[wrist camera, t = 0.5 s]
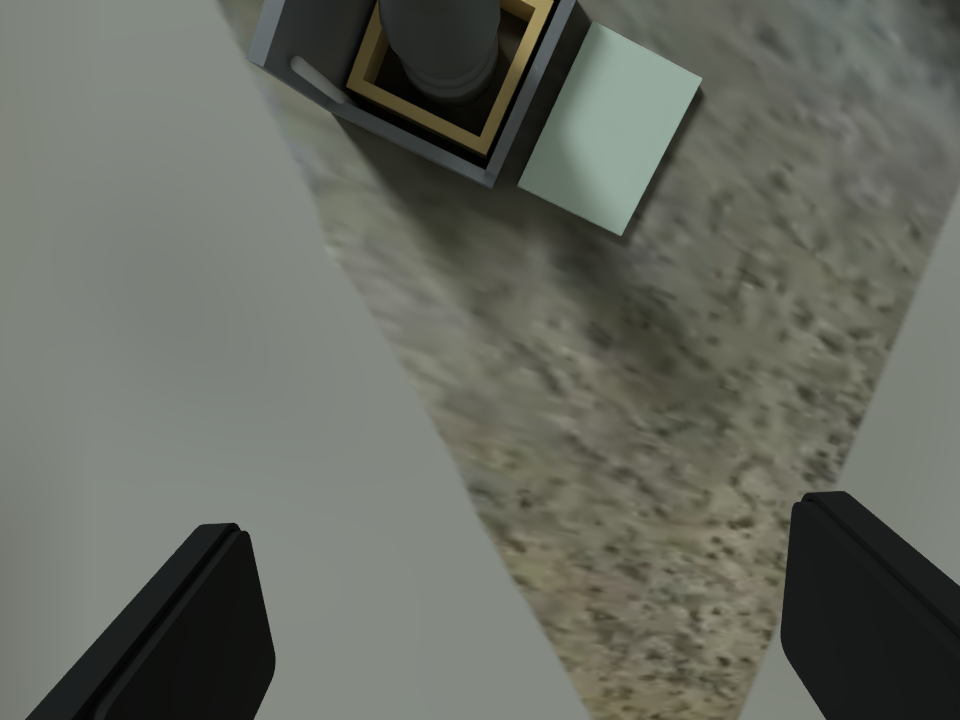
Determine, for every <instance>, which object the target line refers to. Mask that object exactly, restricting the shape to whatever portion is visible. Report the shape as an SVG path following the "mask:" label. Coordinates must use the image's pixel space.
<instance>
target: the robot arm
mask: <svg viewBox="0 0 960 720" xmlns="http://www.w3.org/2000/svg"><path fill="white" fill-rule="evenodd" d="M781 643H782V647H783V650H784V653H785V655H786V657H787V659H788V660H789V662H790V664H791V665H792V667H793V668H794V670H795V671H796V673H797V675H798V676H799V678H800V679H801V681H802V682H803V684H804V685H805V687H806V689H807V690H808V692H809V693H810V695H811V696H812V698H813V699H814V701H815V703H816V704H817V706H818V707H819V709H820V711H821V712H822V714H823V715H824V717H825V718H826V720H960V586H959V585H958V584H956V583H955V582H954V581H953V580H952V579H950V578H949V577H948V576H947V575H946V574H944V573H943V572H942V571H941V570H940V569H938V568H937V567H936V566H935V565H934V564H932V563H931V562H930V561H929V560H928V559H926V558H925V557H924V556H923V555H922V554H920V553H919V552H918V551H917V550H915V549H914V548H913V547H912V546H911V545H910V544H908V543H907V542H906V541H905V540H903V539H902V538H901V537H900V536H899V535H897V534H896V533H895V532H894V531H893V530H892V529H890V528H889V527H888V526H887V525H886V524H884V523H883V522H882V521H881V520H880V519H878V518H877V517H876V516H875V515H874V514H872V513H871V512H870V511H869V510H868V509H866V508H865V507H864V506H863V505H862V504H860V503H859V502H858V501H857V500H856V499H854V498H853V497H852V496H851V495H850V494H848V493H846V492H845V491H833V492H813V493H806V494H805V495H804V496H803V498H802V500H801V502H796V503H795V504H794V505H793V508H792V513H791V524H790V535H789V546H788V557H787V567H786V578H785V589H784V600H783V611H782V621H781ZM274 670H275V651H274V646H273V642H272V637H271V633H270V628H269V623H268V618H267V614H266V609H265V604H264V600H263V595H262V590H261V585H260V581H259V576H258V571H257V566H256V562H255V557H254V552H253V548H252V543H251V539H250V535H249V534H248V532H246V531H241V530H240V528H239V526H238V525H237V524H235V523H220V524H203V525H200V526H199V527H197V528H196V529H195V530H194V531H193V532H192V534H191V535H190V536H189V537H188V538H187V539H186V540H185V541H184V543H183V544H182V545H181V546H180V547H179V548H178V549H177V550H176V552H175V553H174V554H173V555H172V556H171V557H170V558H169V559H168V561H167V562H166V563H165V564H164V565H163V566H162V567H161V568H160V569H159V571H158V572H157V573H156V574H155V575H154V576H153V577H152V578H151V579H150V581H149V582H148V583H147V584H146V585H145V586H144V587H143V588H142V590H141V591H140V592H139V593H138V594H137V595H136V596H135V597H134V599H133V600H132V601H131V602H130V603H129V604H128V605H127V606H126V607H125V609H124V610H123V611H122V612H121V613H120V614H119V615H118V616H117V618H116V619H115V620H114V621H113V622H112V623H111V624H110V625H109V626H108V628H107V629H106V630H105V631H104V632H103V633H102V634H101V635H100V637H99V638H98V639H97V640H96V641H95V642H94V643H93V644H92V646H91V647H90V648H89V649H88V650H87V651H86V652H85V653H84V654H83V656H82V657H81V658H80V659H79V660H78V661H77V662H76V663H75V665H74V666H73V667H72V668H71V669H70V670H69V671H68V672H67V673H66V675H65V676H64V677H63V678H62V679H61V680H60V681H59V683H57V685H56V686H55V687H54V688H53V689H52V690H51V691H50V692H49V693H48V695H47V696H46V697H45V698H44V699H43V700H42V701H41V702H40V704H39V705H38V706H37V707H36V708H35V709H34V710H33V711H32V712H31V714H30V715H29V716H28V717H27V718H26V719H25V720H254V718H255V715H256V713H257V711H258V709H259V707H260V704H261V702H262V700H263V698H264V696H265V693H266V691H267V689H268V687H269V685H270V683H271V680H272V678H273V675H274Z"/></svg>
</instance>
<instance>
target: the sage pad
mask: <svg viewBox="0 0 960 720" xmlns="http://www.w3.org/2000/svg"><path fill="white" fill-rule="evenodd" d="M701 81H702V78H700V77H699V76H697V75H695V74H693V73H691V72H689V71H687V70H685V69H683V68H681V67H680V66H678V65H676V64H674V63H672V62H670V61H668V60H666V59H664V58H663V57H661V56H659V55H657V54H655V53H653V52H651V51H649V50H647V49H646V48H644V47H642V46H640V45H638V44H636V43H634V42H632V41H630V40H628V39H627V38H625V37H623V36H621V35H619V34H617V33H615V32H613V31H611V30H610V29H608V28H606V27H604V26H602V25H600V24H598V23H596V22H594V21H593V22H592V24H591V25H590V27H589V30H588V32H587V34H586V36H585V38H584V41H583V43H582V45H581V47H580V49H579V51H578V54H577V56H576V58H575V60H574V62H573V65H572V67H571V69H570V71H569V73H568V75H567V78H566V80H565V82H564V84H563V86H562V89H561V91H560V93H559V95H558V97H557V99H556V102H555V104H554V106H553V108H552V110H551V112H550V115H549V117H548V119H547V121H546V123H545V126H544V128H543V130H542V132H541V134H540V136H539V139H538V141H537V143H536V145H535V147H534V150H533V152H532V154H531V156H530V158H529V160H528V163H527V165H526V167H525V169H524V171H523V174H522V176H521V178H520V180H519V182H518V184H517V187H519V188H522V189H524V190H526V191H528V192H530V193H532V194H534V195H536V196H538V197H540V198H542V199H544V200H546V201H548V202H550V203H552V204H554V205H556V206H558V207H561V208H563V209H565V210H567V211H569V212H571V213H573V214H575V215H577V216H579V217H581V218H583V219H585V220H587V221H589V222H591V223H593V224H595V225H597V226H600V227H602V228H604V229H606V230H608V231H610V232H612V233H614V234H616V235H618V236H621V235H622V234H623V232H624V230H625V228H626V226H627V224H628V222H629V220H630V218H631V216H632V214H633V212H634V210H635V208H636V206H637V204H638V203H639V201H640V199H641V197H642V195H643V193H644V191H645V189H646V187H647V185H648V183H649V181H650V179H651V177H652V175H653V174H654V172H655V170H656V168H657V166H658V164H659V162H660V160H661V158H662V156H663V154H664V152H665V150H666V148H667V146H668V145H669V143H670V141H671V139H672V137H673V135H674V133H675V131H676V129H677V127H678V125H679V123H680V121H681V119H682V117H683V115H684V114H685V112H686V110H687V108H688V106H689V104H690V102H691V100H692V98H693V96H694V94H695V92H696V90H697V88H698V86H699V85H700V83H701Z"/></svg>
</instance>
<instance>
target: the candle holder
mask: <svg viewBox="0 0 960 720" xmlns="http://www.w3.org/2000/svg"><path fill="white" fill-rule="evenodd" d="M378 5H379V18H380V24H381V26H382V28H383V30H384V33H385V35H386V37H387V39H388V41H389V44H390V46H391V48H392V49H393V51H394V52H395V53H396V54H397V55H398V57H399V59H400V61H401V64H402V66H403V68H404V70H405V72H406V75H407V77H408V78H409V80H410V82H411V84H412V85H413V87H414V88H415V89H416V90H417V91H418V92H419V93H420V94H421V95H422V96H423V97H424V98H425V99H426V100H427V101H429V102H432V103H434V104H437V105H439V106H442V107H463V106H464V105H466V104H468V103H470V102H472V101H474V100H476V99H478V98H479V97H480V96H481V95H482V94H483V92H484V91H485V90H486V89H487V88H488V87H489V85H490V84H491V81H492V79H493V76H494V73H495V70H496V67H497V59H498V32H497V28H498V25H499V22H500V0H378Z"/></svg>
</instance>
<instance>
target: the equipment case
mask: <svg viewBox="0 0 960 720" xmlns="http://www.w3.org/2000/svg"><path fill="white" fill-rule="evenodd" d="M575 2H576V0H500V8H502V9H504V10H506V11H508V12H510V13H511V14H513V15H515V16H517V17H519V18H521V19H523V20H525V21H527V22H529V25H528V27H527V30H526V32H525V34H524V37H523V39H522V41H521V44H520V46H519V48H518V50H517V53H516V55H515V57H514V60H513V62H512V64H511V67H510V69H509V71H508V74H507V76H506V78H505V80H504V83H503V85H502V87H501V90H500V92H499V94H498V97H497V99H496V101H495V104H494V106H493V108H492V111H491V113H490V115H489V117H488V120H487V122H486V124H485V127H484V129H483V131H482V134H481V136H480V137H478V136H476V135H474V134H472V133H470V132H468V131H466V130H464V129H462V128H460V127H458V126H456V125H454V124H452V123H450V122H448V121H446V120H443V119H441V118H439V117H437V116H435V115H433V114H431V113H429V112H427V111H425V110H423V109H421V108H419V107H417V106H415V105H413V104H411V103H409V102H407V101H405V100H403V99H401V98H399V97H397V96H395V95H393V94H391V93H389V92H387V91H385V90H383V89H381V88H379V87H377V86H375V85H374V83H375V81H376V78H377V75H378V73H379V70H380V67H381V65H382V62H383V59H384V57H385V54H386V51H387V49H388V46H389V41H388V39H387V37H386V35H385V33H384V30H383V28H382V26H381V24H380V18H379V5H378V0H265V1H264V4H263V7H262V10H261V13H260V16H259V19H258V22H257V26H256V29H255V32H254V35H253V38H252V41H251V44H250V47H249V51H248V54H247V57H246V59H247V60H248V61H250V62H252V63H253V64H255V65H256V66H258V67H260V68H261V69H263V70H264V71H266V72H267V73H269V74H271V75H272V76H274V77H275V78H277V79H278V80H280V81H282V82H283V83H285V84H286V85H288V86H290V87H291V88H293V89H294V90H296V91H297V92H299V93H301V94H302V95H304V96H305V97H307V98H308V99H310V100H312V101H313V102H315V103H316V104H318V105H320V106H321V107H323V108H324V109H326V110H327V111H329V112H331V113H333V114H335V115H337V116H339V117H341V118H343V119H345V120H347V121H349V122H351V123H353V124H355V125H357V126H359V127H361V128H363V129H366V130H368V131H370V132H372V133H374V134H376V135H378V136H380V137H382V138H384V139H386V140H388V141H390V142H392V143H394V144H397V145H399V146H401V147H403V148H405V149H407V150H409V151H411V152H413V153H415V154H417V155H419V156H421V157H423V158H425V159H428V160H430V161H432V162H434V163H436V164H438V165H440V166H442V167H444V168H446V169H448V170H450V171H452V172H454V173H456V174H459V175H461V176H463V177H465V178H467V179H469V180H471V181H473V182H475V183H477V184H479V185H481V186H483V187H485V188H487V189H490V190H492V187H493V185H494V183H495V181H496V178H497V176H498V174H499V172H500V169H501V167H502V165H503V163H504V161H505V158H506V156H507V154H508V152H509V149H510V147H511V145H512V143H513V140H514V138H515V136H516V134H517V132H518V129H519V127H520V125H521V123H522V120H523V118H524V116H525V114H526V111H527V109H528V107H529V105H530V103H531V100H532V98H533V96H534V94H535V91H536V89H537V87H538V85H539V82H540V80H541V78H542V76H543V74H544V71H545V69H546V67H547V65H548V62H549V60H550V58H551V56H552V53H553V51H554V49H555V47H556V45H557V42H558V40H559V38H560V36H561V33H562V31H563V29H564V27H565V24H566V22H567V20H568V18H569V16H570V13H571V11H572V9H573V7H574V4H575ZM553 3H555V4H557V5H559V6H558V8H557V10H556V12H555V15H554V17H553V19H552V21H551V24H550V26H549V28H548V30H547V33H546V35H545V37H544V40H543V42H542V44H541V46H540V49H539V51H538V53H537V55H536V58H535V60H534V62H533V64H532V67H531V69H530V71H529V73H528V76H527V78H526V80H525V83H524V85H523V87H522V89H521V92H520V94H519V96H518V98H517V101H516V103H515V105H514V107H513V110H512V112H511V114H510V116H509V119H508V121H507V123H506V126H505V128H504V130H503V132H502V135H501V137H500V139H499V141H498V144H497V146H496V148H495V150H494V153H493V155H492V157H491V159H490V162H489V164H488V166H487V169H486V170H484V169H482V168H480V167H478V166H476V165H474V164H472V163H470V162H467V161H465V160H463V159H461V158H459V157H457V156H455V155H453V154H451V153H449V152H447V151H445V150H443V149H441V148H439V147H437V146H435V145H433V144H431V143H429V142H426V141H424V140H422V139H420V138H418V137H416V136H414V135H412V134H410V133H408V132H406V131H404V130H402V129H400V128H398V127H396V126H394V125H392V124H390V123H387V122H385V121H383V120H381V119H379V118H377V117H375V116H373V115H371V114H369V113H367V112H365V111H363V110H361V109H360V107H359V105H358V104H357V103H355V102H354V101H353V100H352V99H351V98H350V95H351V92H353V93H354V94H355V95H356V96H358V97H360V98H362V99H364V100H366V101H368V102H370V103H372V104H374V105H376V106H378V107H380V108H382V109H384V110H386V111H388V112H390V113H392V114H394V115H396V116H398V117H400V118H402V119H405V120H407V121H409V122H411V123H413V124H415V125H417V126H419V127H421V128H423V129H425V130H427V131H429V132H431V133H433V134H435V135H437V136H439V137H441V138H443V139H445V140H447V141H449V142H451V143H454V144H456V145H458V146H460V147H462V148H464V149H466V150H468V151H470V152H472V153H474V154H476V155H478V156H480V157H482V158H484V159H486V158H487V156H488V153H489V151H490V149H491V147H492V144H493V142H494V140H495V137H496V135H497V133H498V131H499V128H500V126H501V124H502V122H503V119H504V117H505V115H506V112H507V110H508V108H509V106H510V103H511V101H512V99H513V97H514V94H515V92H516V90H517V87H518V85H519V83H520V81H521V78H522V76H523V74H524V72H525V69H526V67H527V65H528V62H529V60H530V58H531V56H532V53H533V51H534V49H535V47H536V44H537V42H538V40H539V37H540V35H541V33H542V31H543V28H544V26H545V24H546V22H547V19H548V17H549V14H550V11H551V8H552V5H553Z"/></svg>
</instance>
